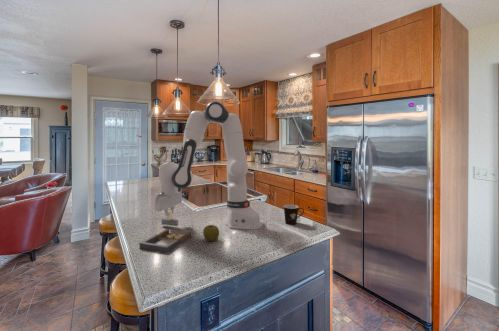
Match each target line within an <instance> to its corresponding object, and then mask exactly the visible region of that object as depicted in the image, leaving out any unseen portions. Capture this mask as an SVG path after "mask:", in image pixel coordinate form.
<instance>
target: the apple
mask: <svg viewBox="0 0 499 331" xmlns="http://www.w3.org/2000/svg"><path fill="white" fill-rule="evenodd" d="M202 234H203V235H202V236H203V237H204V239H205V240H206V241H209V242H216V241H217V240H218V239H219V236H220V230H219V227H218V226H217V225H214V224H210V225H209V224H208V225H206V226H205V227H203V232H202Z"/></svg>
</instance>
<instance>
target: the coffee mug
mask: <svg viewBox="0 0 499 331" xmlns="http://www.w3.org/2000/svg"><path fill="white" fill-rule="evenodd" d="M300 210H302V212H301V214H299V211H300ZM283 212H284V214H283V215H284V222H285V224H286V225H287V226H288V225H289V226H295V225H297V221H298V218H300V217H301V216H302V215H303V214H304V212H305V210H304V208H303V207H299V206H298V205H296V204H285V205H283ZM298 214H299V215H298Z"/></svg>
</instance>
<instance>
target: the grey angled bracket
mask: <svg viewBox="0 0 499 331" xmlns="http://www.w3.org/2000/svg"><path fill="white" fill-rule="evenodd" d="M155 235H156V234H155ZM155 235H152V236H150V237H149V238H146V239H144V240H142V241H140V242H139V249H142V250H147V249H148V250H147V251H152V250H153V252H158V251H159V253H164V254H168V253H169V252H171V251H172V250H175V248H177V247H178V245H179V246H180V245H181V244H180V239H176V240H175V239H174V240H173V241H172V242H170V243H168V244H166V245H164V244H163V245H162V244H157V243H155V241H156V242H157V241H158V240H157V236H155Z"/></svg>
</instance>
